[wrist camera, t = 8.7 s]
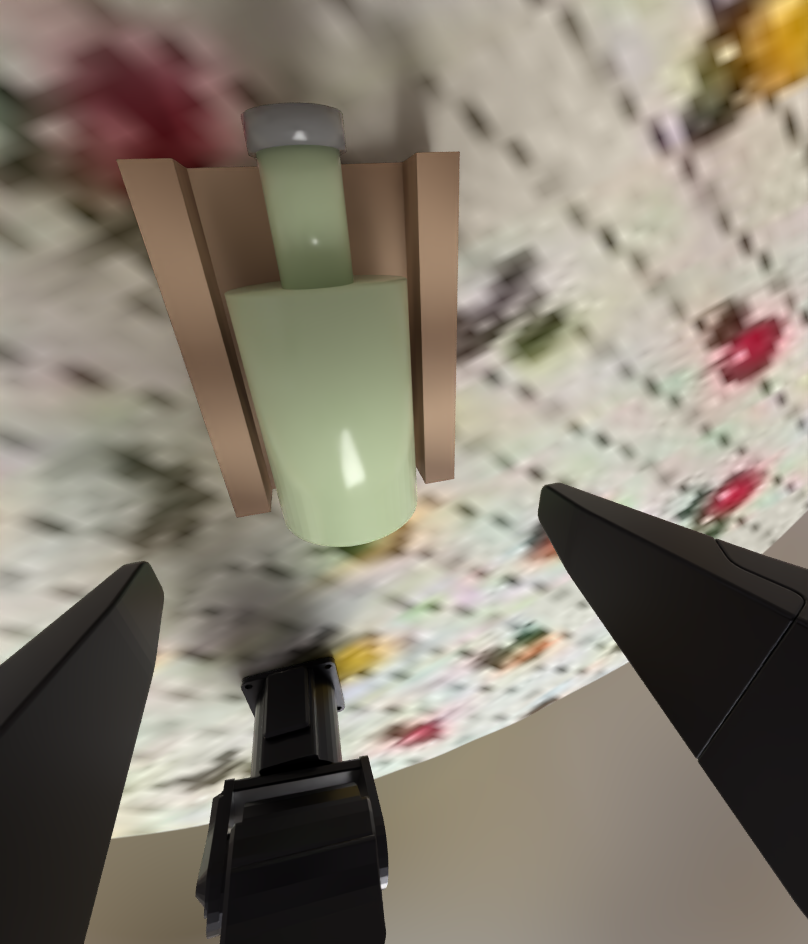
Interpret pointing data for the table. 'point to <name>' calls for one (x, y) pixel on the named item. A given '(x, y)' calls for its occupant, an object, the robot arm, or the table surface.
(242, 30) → the table surface
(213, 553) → the table surface
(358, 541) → the bottle
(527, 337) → the table surface
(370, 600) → the table surface
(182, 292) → the rest
